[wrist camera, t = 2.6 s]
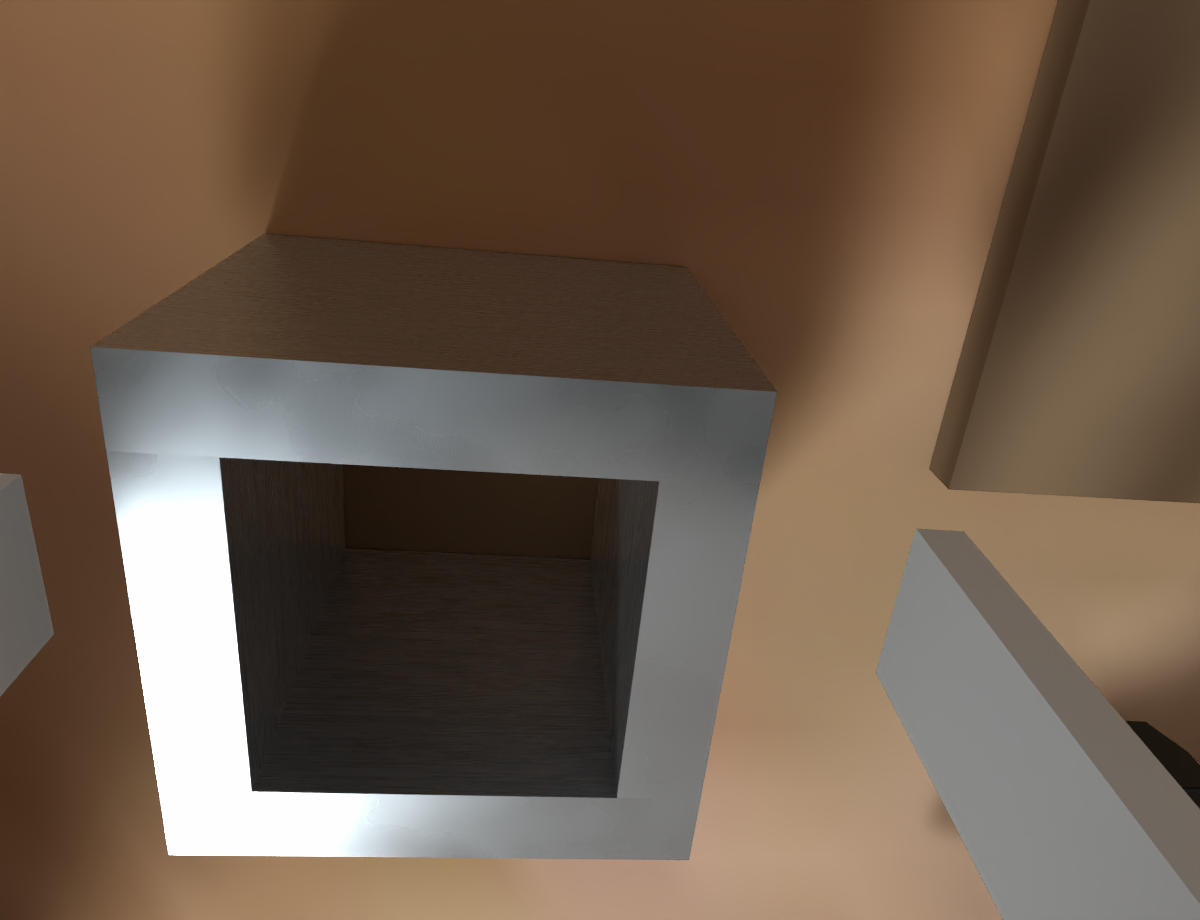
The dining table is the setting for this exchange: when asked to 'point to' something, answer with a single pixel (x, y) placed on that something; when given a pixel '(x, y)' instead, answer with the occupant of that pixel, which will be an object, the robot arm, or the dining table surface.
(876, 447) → the dining table surface
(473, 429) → the hollow square steel tube
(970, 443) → the peg on base
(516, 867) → the dining table surface
